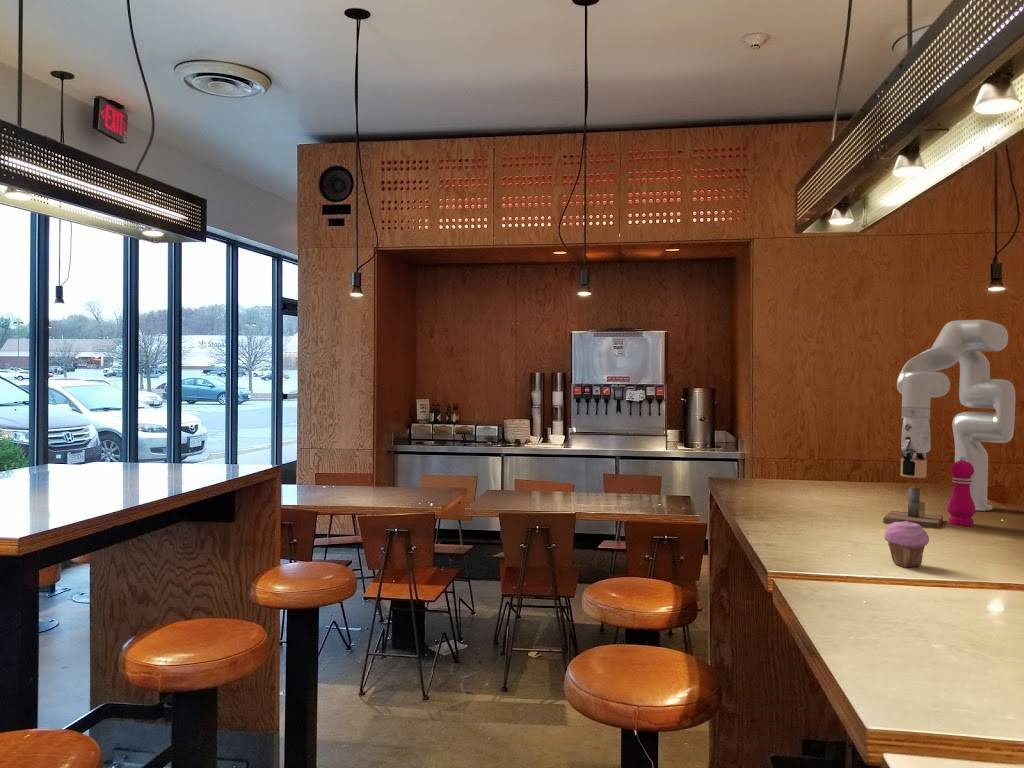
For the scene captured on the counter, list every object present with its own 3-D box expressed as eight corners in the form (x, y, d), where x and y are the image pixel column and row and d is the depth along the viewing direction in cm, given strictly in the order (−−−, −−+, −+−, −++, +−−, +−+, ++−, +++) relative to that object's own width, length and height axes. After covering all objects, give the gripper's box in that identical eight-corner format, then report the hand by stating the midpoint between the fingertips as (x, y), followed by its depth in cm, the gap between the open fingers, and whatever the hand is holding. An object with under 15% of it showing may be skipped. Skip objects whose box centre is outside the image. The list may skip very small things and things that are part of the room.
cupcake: (903, 570, 177) (904, 525, 177) (875, 561, 186) (876, 518, 186) (936, 568, 180) (937, 523, 180) (907, 560, 188) (908, 517, 188)
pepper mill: (980, 526, 233) (982, 457, 233) (954, 526, 233) (956, 456, 233) (966, 522, 240) (968, 454, 240) (942, 521, 240) (943, 454, 240)
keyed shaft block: (891, 515, 250) (892, 483, 250) (942, 520, 243) (943, 487, 243) (883, 522, 237) (883, 488, 237) (937, 528, 229) (938, 493, 229)
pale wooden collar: (898, 476, 238) (899, 459, 238) (902, 474, 245) (902, 457, 244) (924, 478, 235) (924, 461, 235) (927, 476, 241) (927, 459, 241)
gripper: (916, 414, 231) (915, 477, 231) (940, 414, 242) (939, 473, 243) (890, 413, 236) (888, 474, 236) (914, 413, 248) (913, 471, 248)
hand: (914, 473), depth 239 cm, fingers closed on pale wooden collar, 7 cm apart
